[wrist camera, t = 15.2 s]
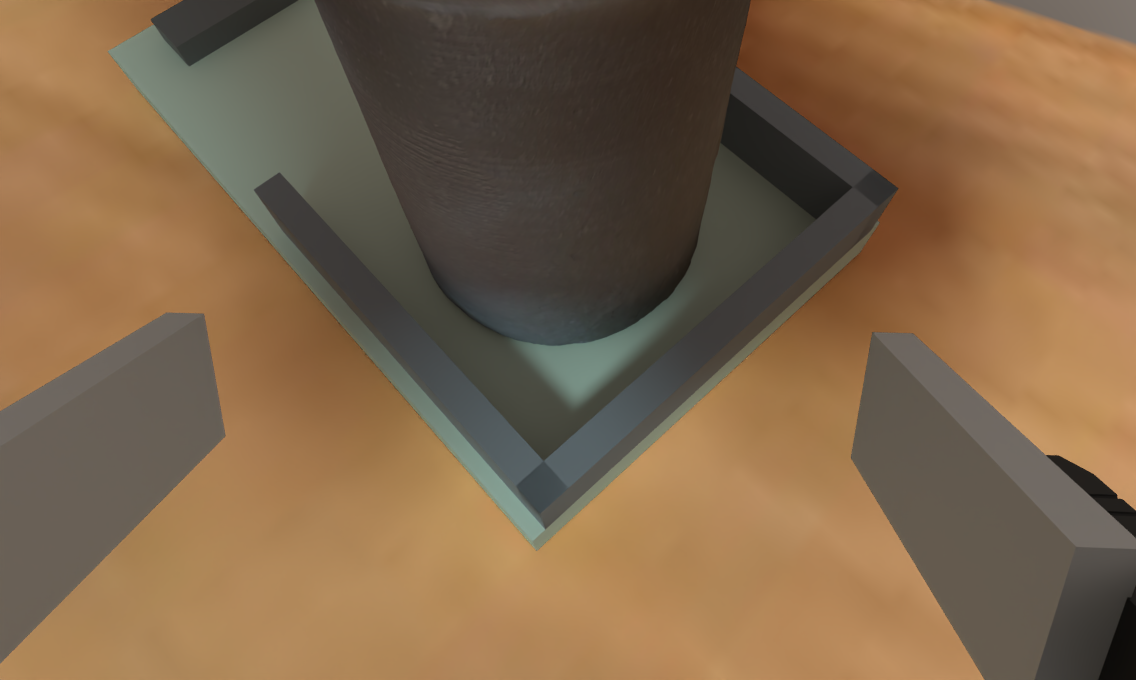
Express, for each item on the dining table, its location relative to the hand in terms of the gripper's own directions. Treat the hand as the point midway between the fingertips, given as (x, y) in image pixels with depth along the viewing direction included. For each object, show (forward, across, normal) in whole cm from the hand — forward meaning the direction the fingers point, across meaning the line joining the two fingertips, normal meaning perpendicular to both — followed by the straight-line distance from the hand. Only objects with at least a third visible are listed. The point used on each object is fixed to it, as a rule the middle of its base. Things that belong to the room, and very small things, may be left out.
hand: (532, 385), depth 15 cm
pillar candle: (+12, 0, 0) cm, 12 cm away
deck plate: (+16, -4, +2) cm, 17 cm away
